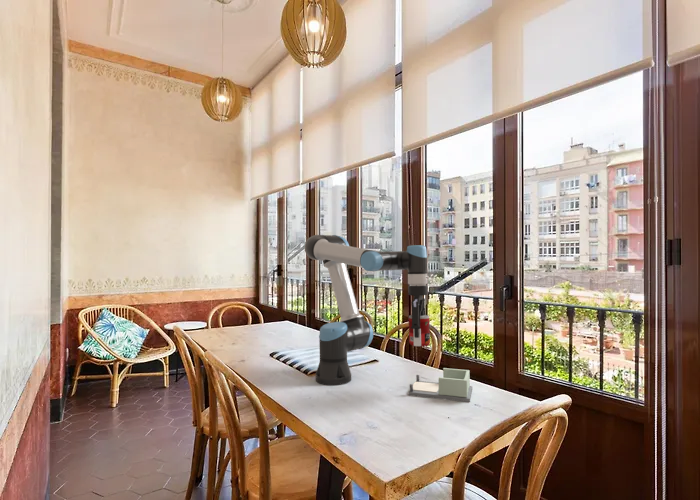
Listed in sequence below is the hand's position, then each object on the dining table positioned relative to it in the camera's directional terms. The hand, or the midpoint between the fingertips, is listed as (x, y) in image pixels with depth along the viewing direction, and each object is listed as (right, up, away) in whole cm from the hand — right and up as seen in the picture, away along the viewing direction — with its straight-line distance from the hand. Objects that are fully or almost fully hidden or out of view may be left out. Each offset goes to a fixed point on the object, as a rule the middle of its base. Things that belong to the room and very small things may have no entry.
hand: (419, 343), depth 161 cm
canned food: (0, 0, 0) cm, 0 cm away
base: (+8, -18, -2) cm, 20 cm away
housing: (+13, -17, -4) cm, 21 cm away
